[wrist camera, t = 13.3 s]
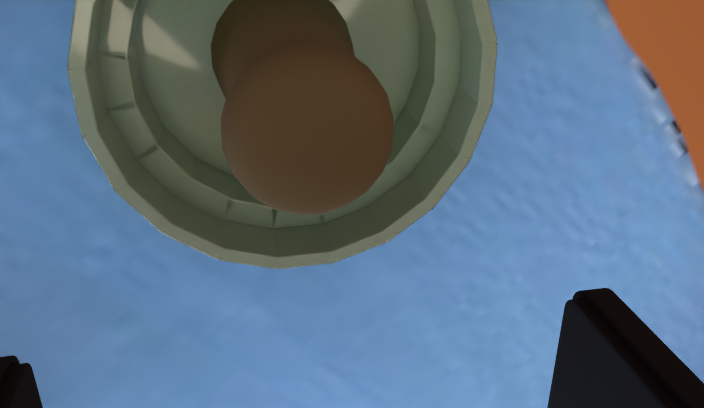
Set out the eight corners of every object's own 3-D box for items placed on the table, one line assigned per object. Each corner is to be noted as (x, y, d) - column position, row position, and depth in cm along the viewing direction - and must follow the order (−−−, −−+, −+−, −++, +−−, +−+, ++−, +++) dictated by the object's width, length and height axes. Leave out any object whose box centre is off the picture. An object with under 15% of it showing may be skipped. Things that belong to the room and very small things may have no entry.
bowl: (74, 173, 29) (46, 232, 24) (127, -208, 23) (103, -229, 19) (390, 232, 34) (418, 292, 29) (501, -78, 28) (561, -68, 23)
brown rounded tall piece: (182, 23, 27) (159, 109, 17) (314, -46, 26) (368, 1, 17) (254, 145, 30) (270, 278, 20) (374, 84, 29) (450, 188, 20)
